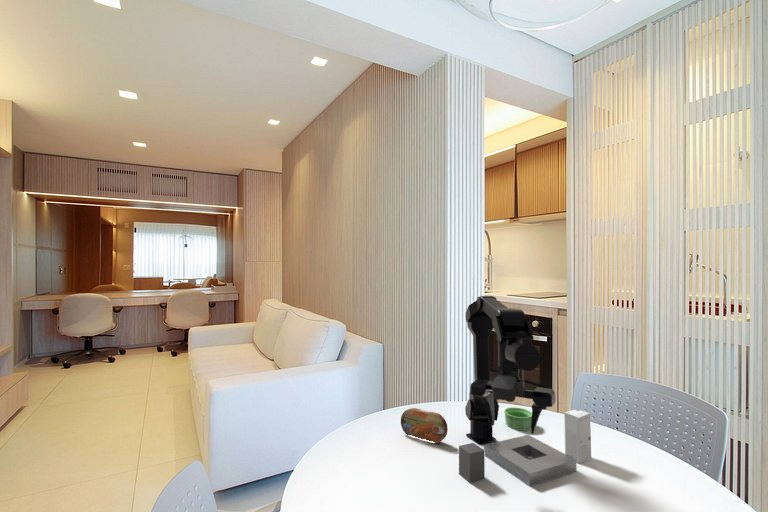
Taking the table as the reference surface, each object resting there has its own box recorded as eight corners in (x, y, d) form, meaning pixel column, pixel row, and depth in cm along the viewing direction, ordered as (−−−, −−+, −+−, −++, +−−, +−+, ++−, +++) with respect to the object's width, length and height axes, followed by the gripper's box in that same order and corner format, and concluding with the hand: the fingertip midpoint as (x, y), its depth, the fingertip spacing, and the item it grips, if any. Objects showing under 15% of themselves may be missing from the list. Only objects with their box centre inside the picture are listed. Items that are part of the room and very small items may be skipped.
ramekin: (498, 421, 126) (498, 408, 127) (521, 419, 129) (521, 406, 129) (515, 432, 118) (515, 418, 118) (539, 429, 121) (539, 415, 121)
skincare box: (580, 464, 99) (579, 418, 99) (563, 457, 102) (563, 412, 103) (592, 458, 102) (591, 413, 102) (576, 451, 106) (575, 408, 106)
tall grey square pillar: (458, 474, 93) (458, 445, 93) (473, 470, 95) (473, 442, 95) (469, 483, 89) (469, 453, 89) (484, 479, 91) (484, 450, 91)
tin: (399, 434, 116) (400, 406, 116) (405, 430, 118) (405, 403, 119) (444, 447, 107) (444, 417, 108) (448, 443, 110) (449, 414, 110)
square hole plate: (484, 455, 103) (484, 444, 103) (528, 445, 109) (528, 434, 109) (529, 486, 88) (529, 473, 88) (576, 472, 95) (576, 460, 95)
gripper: (461, 363, 88) (462, 431, 87) (546, 372, 78) (548, 450, 77) (477, 356, 97) (478, 418, 96) (554, 364, 87) (557, 433, 86)
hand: (512, 429), depth 88 cm, fingers open, 9 cm apart
